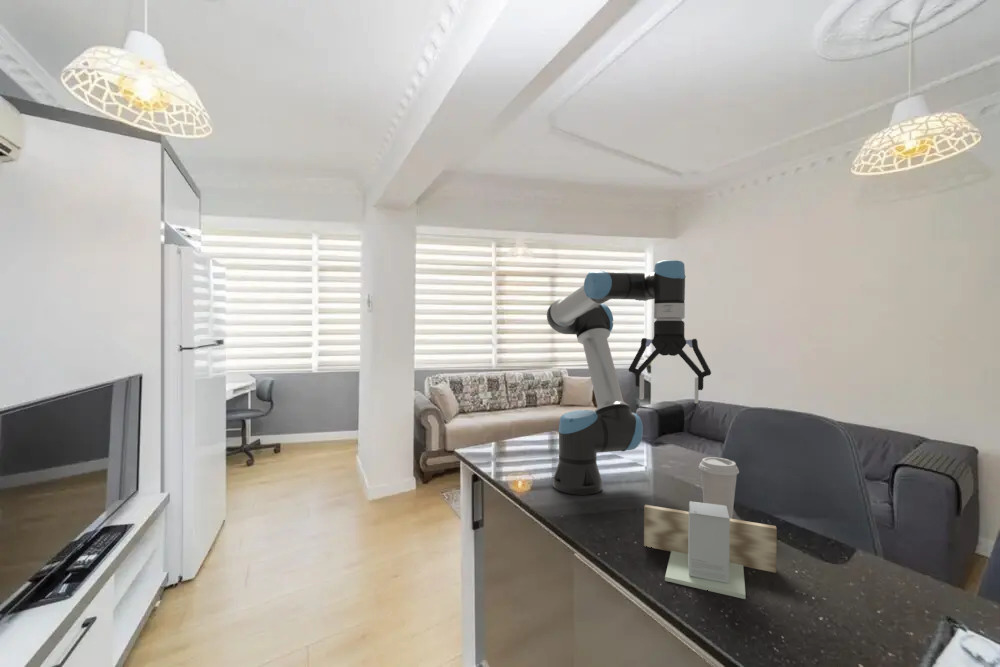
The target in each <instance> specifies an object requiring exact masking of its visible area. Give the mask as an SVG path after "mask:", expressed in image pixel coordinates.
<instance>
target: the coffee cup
mask: <svg viewBox="0 0 1000 667" xmlns="http://www.w3.org/2000/svg"><path fill="white" fill-rule="evenodd" d="M698 469H699V470H700V477H701V487H702V500H703V501H702V503H709V504H717V505H724V506H727V509H728V513H729V517H730V519H733V513H734V503H735V494H736V486H737V478H738V474H739V473H740V470H739V467H738V466H737V463H736V461H734V460H731V459H728V458H724V457H710V456H709V457H704V458H702V460H701V462H699V465H698Z"/></svg>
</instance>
